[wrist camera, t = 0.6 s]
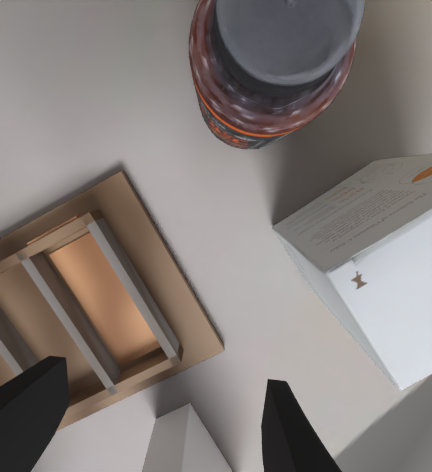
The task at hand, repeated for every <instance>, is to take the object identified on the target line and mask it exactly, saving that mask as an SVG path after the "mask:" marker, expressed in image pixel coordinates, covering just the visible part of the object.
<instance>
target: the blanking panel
mask: <svg viewBox="0 0 432 472" xmlns="http://www.w3.org/2000/svg"><path fill="white" fill-rule="evenodd" d="M142 472H233V471H232V470H231V468H230V466H229V465H228V463H227V462H226V460H225V458H224V457H223V455H222V454H221V452H220V450H219V449H218V447H217V446H216V444H215V442H214V441H213V439H212V438H211V436H210V434H209V433H208V431H207V430H206V428H205V426H204V425H203V423H202V422H201V420H200V418H199V417H198V415H197V414H196V412H195V410H194V409H193V407H192V405H191V404H190V403H189V404H187V405H185V406H183V407H180V408H178V409H176V410H174V411H172V412H170V413H168V414H165V415H163V416H161V417H159V418H157V419H156V420H155V423H154V427H153V431H152V435H151V439H150V443H149V447H148V451H147V454H146V458H145V462H144V466H143V470H142Z"/></svg>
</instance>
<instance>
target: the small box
mask: <svg viewBox="0 0 432 472" xmlns="http://www.w3.org/2000/svg"><path fill="white" fill-rule="evenodd" d="M272 229H273V231H274V232H275V234H276V235H277V237H278V238H279V240H280V241H281V243H282V245H283V246H284V248H285V249H286V251H287V253H288V254H289V256H290V257H291V259H292V260H293V262H294V263H295V265H296V267H297V268H298V270H299V271H300V273H301V274H302V276H303V278H304V279H305V281H306V282H307V284H308V285H309V287H310V288H311V290H312V291H313V293H314V294H315V295H316V296H317V297H318V298H319V300H320V301H321V302H322V303H323V304H324V305H325V307H326V308H327V309H328V310H329V311H330V312H331V313H332V315H333V316H334V317H335V318H336V319H337V320H338V322H339V323H340V324H341V325H342V326H343V327H344V328H345V330H346V331H347V332H348V333H349V334H350V335H351V336H352V338H353V339H354V340H355V341H356V342H357V343H358V344H359V346H360V347H361V348H362V349H363V350H364V352H365V353H366V354H367V355H368V356H369V357H370V359H371V360H372V361H373V362H374V363H375V364H376V366H377V367H378V368H379V369H380V370H381V371H382V372H383V373H384V375H385V376H386V377H387V378H388V379H389V380H390V381H391V382H392V384H393V385H395V386H396V387H397V388H398V389H399V390H402V391H403V390H404V389H406V388H408V387H409V386H411V385H413V384H415V383H416V382H418V381H420V380H422V379H424V378H425V377H427V376H429V375H431V374H432V154H424V155H416V156H407V157H399V158H390V159H382V160H375V161H373V162H371V163H370V164H368V165H367V166H365V167H364V168H362V169H361V170H359V171H358V172H356V173H355V174H353V175H352V176H350V177H348V178H347V179H345V180H344V181H342V182H341V183H339V184H338V185H336V186H335V187H333V188H331V189H330V190H328V191H327V192H325V193H324V194H322V195H321V196H319V197H318V198H316V199H314V200H313V201H311V202H310V203H308V204H307V205H305V206H304V207H302V208H301V209H299V210H298V211H296V212H294V213H293V214H291V215H290V216H288V217H287V218H285V219H284V220H282V221H280V222H279V223H277V224H275V225H274V226H273V227H272Z"/></svg>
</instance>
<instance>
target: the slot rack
mask: <svg viewBox="0 0 432 472" xmlns="http://www.w3.org/2000/svg"><path fill="white" fill-rule="evenodd" d="M223 351H224V345H223V343H222V341H221V339H220V338H219V336H218V334H217V332H216V331H215V329H214V327H213V325H212V324H211V322H210V320H209V319H208V317H207V315H206V313H205V312H204V310H203V308H202V306H201V305H200V303H199V301H198V299H197V298H196V296H195V294H194V292H193V291H192V289H191V287H190V286H189V284H188V282H187V280H186V279H185V277H184V275H183V273H182V272H181V270H180V268H179V266H178V265H177V263H176V261H175V259H174V258H173V256H172V254H171V253H170V251H169V249H168V247H167V246H166V244H165V242H164V240H163V239H162V237H161V235H160V233H159V232H158V230H157V228H156V227H155V225H154V223H153V221H152V220H151V218H150V216H149V214H148V213H147V211H146V209H145V207H144V206H143V204H142V202H141V200H140V199H139V197H138V195H137V194H136V192H135V190H134V188H133V187H132V185H131V183H130V181H129V180H128V178H127V176H126V174H125V173H124V171H120V172H118V173H117V174H115V175H113V176H111V177H109V178H108V179H106V180H104V181H102V182H101V183H99V184H97V185H95V186H93V187H92V188H90V189H88V190H86V191H85V192H83V193H81V194H79V195H77V196H76V197H74V198H72V199H70V200H69V201H67V202H65V203H63V204H61V205H60V206H58V207H56V208H54V209H53V210H51V211H49V212H47V213H45V214H44V215H42V216H40V217H38V218H37V219H35V220H33V221H31V222H29V223H28V224H26V225H24V226H22V227H21V228H19V229H17V230H15V231H13V232H12V233H10V234H8V235H6V236H5V237H3V238H1V239H0V386H2V385H3V384H5V383H6V382H8V381H10V380H11V379H13V378H14V377H16V376H17V375H19V374H21V373H22V372H24V371H25V370H27V369H29V368H30V367H32V366H33V365H35V364H37V363H38V362H40V361H41V360H43V359H45V358H47V357H48V356H58V357H66V361H67V374H68V387H69V400H70V404H69V406H68V408H67V410H66V413H65V415H64V417H63V419H62V421H61V423H60V425H59V427H58V429H57V430H56V431H58V430H60V429H62V428H64V427H66V426H68V425H70V424H72V423H74V422H76V421H78V420H81V419H83V418H85V417H87V416H89V415H91V414H93V413H95V412H97V411H99V410H101V409H103V408H106V407H108V406H110V405H112V404H114V403H116V402H118V401H120V400H122V399H124V398H126V397H129V396H131V395H133V394H135V393H137V392H139V391H141V390H143V389H145V388H147V387H149V386H152V385H154V384H156V383H158V382H160V381H162V380H164V379H166V378H168V377H170V376H172V375H175V374H177V373H179V372H181V371H183V370H185V369H187V368H189V367H191V366H193V365H195V364H198V363H200V362H202V361H204V360H206V359H208V358H210V357H212V356H214V355H216V354H218V353H221V352H223Z"/></svg>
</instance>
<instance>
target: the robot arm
mask: <svg viewBox="0 0 432 472" xmlns="http://www.w3.org/2000/svg"><path fill="white" fill-rule="evenodd" d="M69 404H70V400H69V387H68V374H67V361H66V357H58V356H48V357H47V358H45V359H43V360H41V361H40V362H38V363H37V364H35V365H33V366H32V367H30V368H29V369H27V370H25V371H24V372H22V373H21V374H19V375H17V376H16V377H14V378H13V379H11V380H10V381H8V382H6V383H5V384H3V385H2V386H0V472H31V470H32V469H33V467H34V466H35V464H36V463H37V461H38V459H39V458H40V456H41V455H42V453H43V452H44V450H45V449H46V447H47V445H48V444H49V442H50V441H51V439H52V437H53V436H54V434H55V432H56V430H57V429H58V427H59V425H60V423H61V421H62V419H63V417H64V415H65V413H66V410H67V408H68V406H69ZM261 430H262V455H263V465H264V472H342V471H341V470H340V468H339V467H338V466H337V464H336V463H335V461H334V460H333V458H332V457H331V455H330V454H329V452H328V451H327V449H326V448H325V446H324V445H323V443H322V442H321V440H320V439H319V437H318V436H317V434H316V432H315V431H314V429H313V428H312V426H311V424H310V423H309V421H308V419H307V418H306V416H305V414H304V413H303V411H302V409H301V407H300V405H299V404H298V402H297V400H296V398H295V396H294V394H293V392H292V391H291V389H290V387H289V385H288V383H287V382H286V381H280V380H271V379H268V383H267V390H266V397H265V404H264V411H263V418H262V425H261Z"/></svg>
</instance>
